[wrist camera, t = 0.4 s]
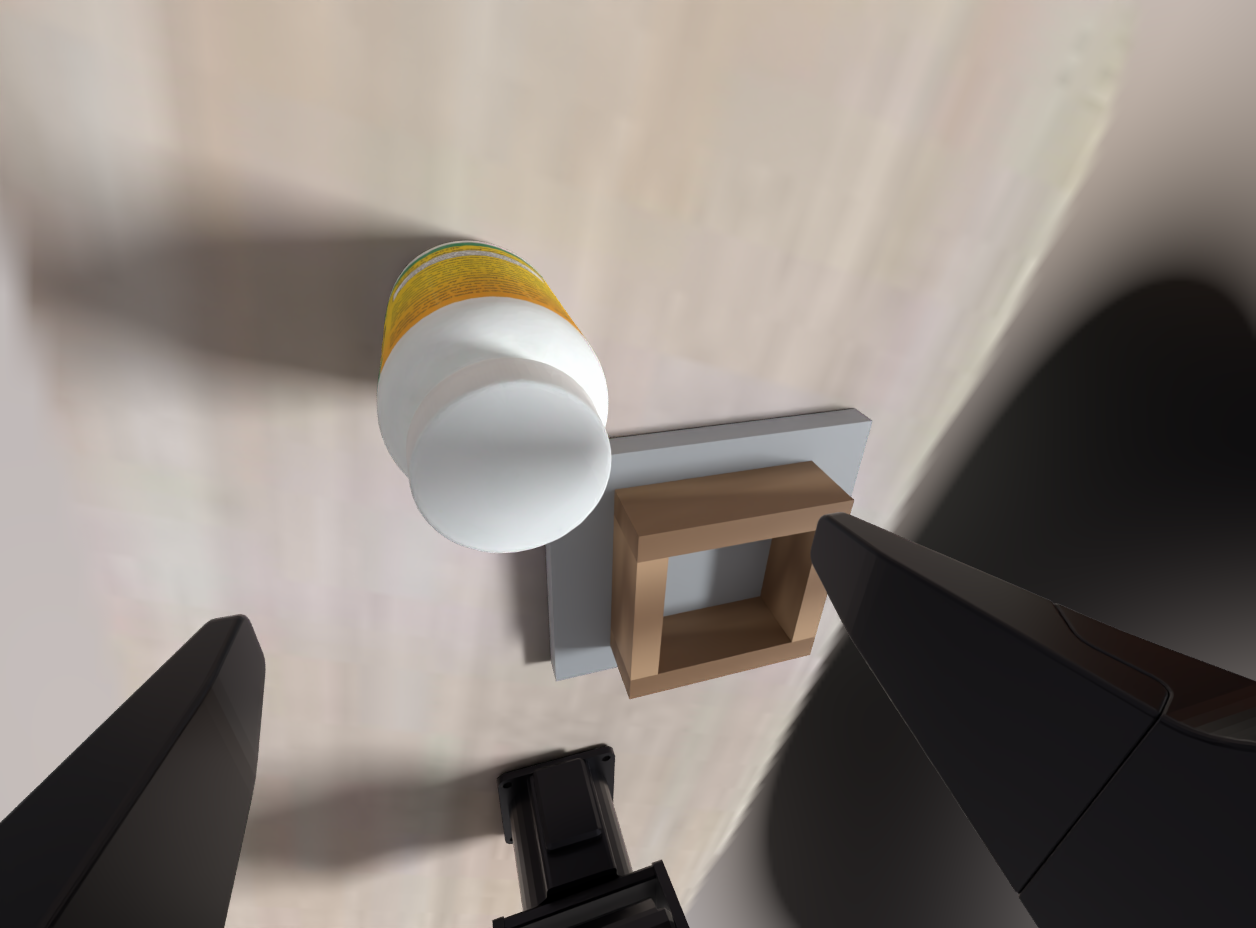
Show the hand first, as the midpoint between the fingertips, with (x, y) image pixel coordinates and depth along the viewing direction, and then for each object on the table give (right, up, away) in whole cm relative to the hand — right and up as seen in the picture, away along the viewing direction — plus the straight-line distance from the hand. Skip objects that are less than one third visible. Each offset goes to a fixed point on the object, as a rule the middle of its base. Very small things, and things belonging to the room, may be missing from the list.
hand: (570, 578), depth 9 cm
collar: (+4, -2, +17) cm, 18 cm away
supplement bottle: (-4, +7, +10) cm, 13 cm away
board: (+4, -2, +18) cm, 19 cm away
